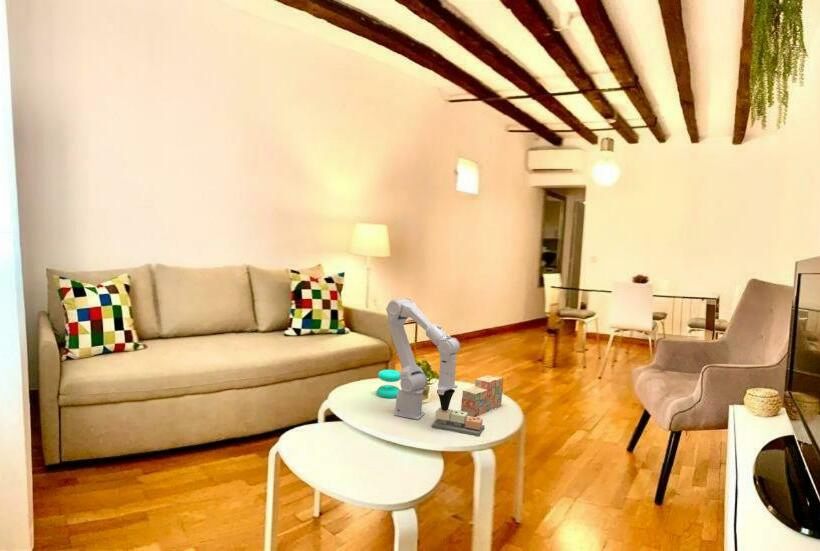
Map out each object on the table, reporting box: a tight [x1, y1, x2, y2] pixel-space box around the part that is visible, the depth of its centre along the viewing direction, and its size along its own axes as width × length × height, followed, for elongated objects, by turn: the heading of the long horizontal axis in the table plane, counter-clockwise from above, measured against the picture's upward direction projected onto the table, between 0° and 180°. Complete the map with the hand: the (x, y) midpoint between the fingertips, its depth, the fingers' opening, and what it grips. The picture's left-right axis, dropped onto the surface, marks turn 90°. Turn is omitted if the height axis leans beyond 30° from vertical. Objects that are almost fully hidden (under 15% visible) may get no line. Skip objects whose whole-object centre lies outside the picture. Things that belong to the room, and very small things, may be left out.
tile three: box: [465, 416, 483, 430], centre depth 180 cm, size 5×5×3 cm
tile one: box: [434, 407, 454, 421], centre depth 183 cm, size 5×5×3 cm
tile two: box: [450, 409, 469, 423], centre depth 181 cm, size 5×5×3 cm
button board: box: [431, 418, 485, 437], centre depth 182 cm, size 17×9×3 cm, turn 70°
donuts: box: [376, 369, 401, 399], centre depth 215 cm, size 10×10×10 cm
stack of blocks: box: [460, 374, 504, 417], centre depth 204 cm, size 21×6×12 cm, turn 141°
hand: (444, 409), depth 183 cm, fingers closed
